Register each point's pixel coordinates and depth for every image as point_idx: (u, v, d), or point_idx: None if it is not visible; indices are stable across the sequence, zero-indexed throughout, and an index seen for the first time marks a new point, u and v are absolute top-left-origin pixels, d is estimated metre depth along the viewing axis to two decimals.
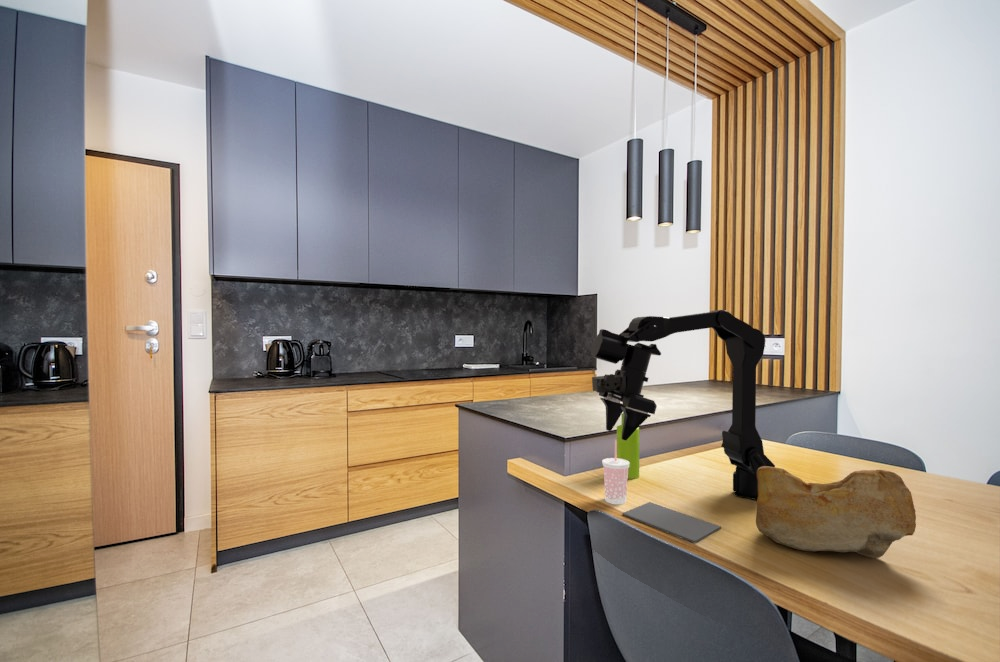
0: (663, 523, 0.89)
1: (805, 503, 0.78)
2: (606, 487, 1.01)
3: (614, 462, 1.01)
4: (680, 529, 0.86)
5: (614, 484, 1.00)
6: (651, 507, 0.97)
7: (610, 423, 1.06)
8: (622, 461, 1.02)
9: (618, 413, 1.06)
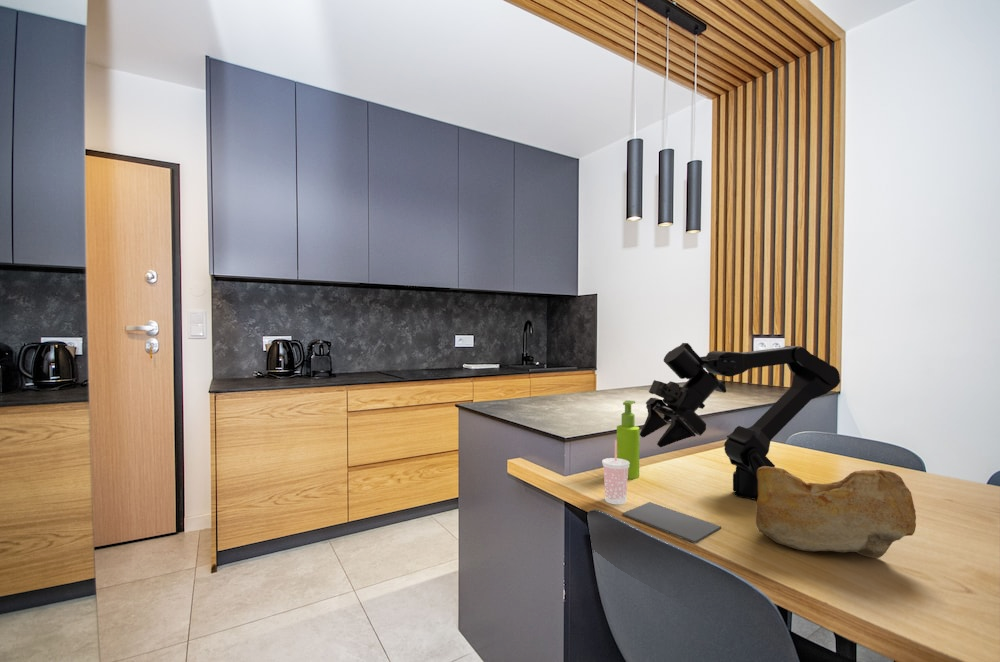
0: (663, 523, 0.89)
1: (805, 503, 0.78)
2: (606, 487, 1.01)
3: (614, 462, 1.01)
4: (680, 529, 0.86)
5: (614, 484, 1.00)
6: (651, 507, 0.97)
7: (646, 430, 1.07)
8: (622, 461, 1.02)
9: (657, 426, 1.08)
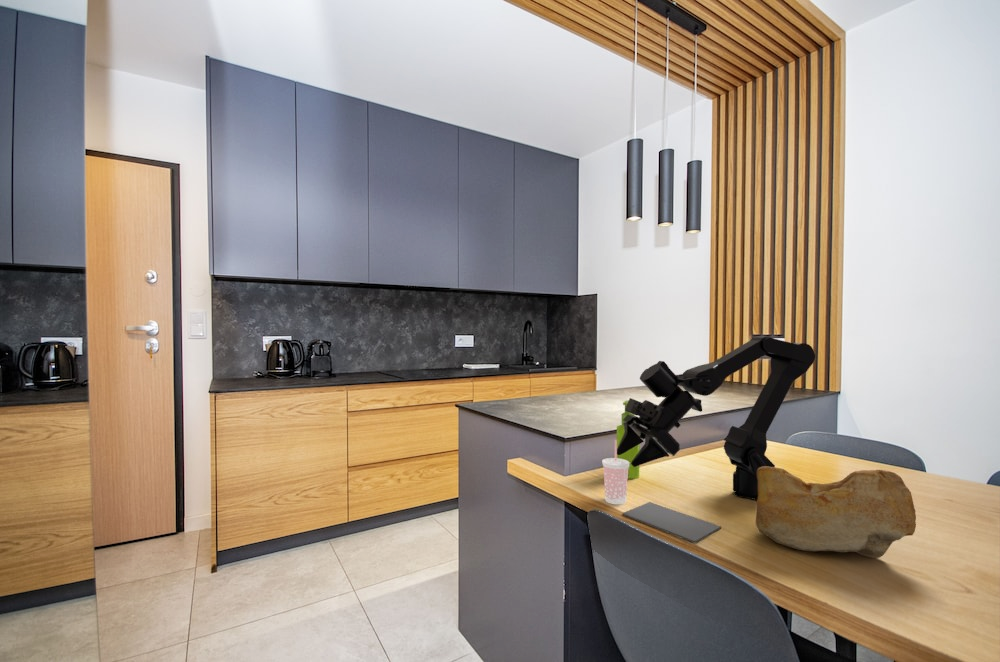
0: (663, 523, 0.89)
1: (805, 503, 0.78)
2: (606, 487, 1.01)
3: (614, 462, 1.01)
4: (680, 529, 0.86)
5: (614, 484, 1.00)
6: (651, 507, 0.97)
7: (622, 448, 1.07)
8: (622, 461, 1.02)
9: (633, 444, 1.07)
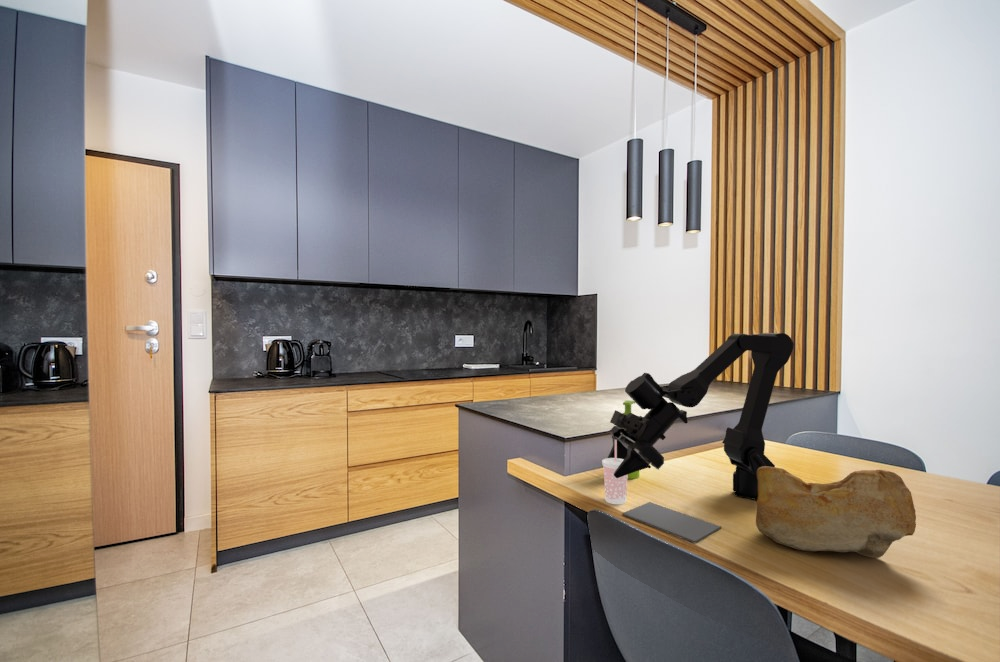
0: (663, 523, 0.89)
1: (805, 503, 0.78)
2: (606, 487, 1.01)
3: (614, 462, 1.01)
4: (680, 529, 0.86)
5: (614, 484, 1.00)
6: (651, 507, 0.97)
7: None
8: (622, 461, 1.02)
9: (621, 457, 1.06)
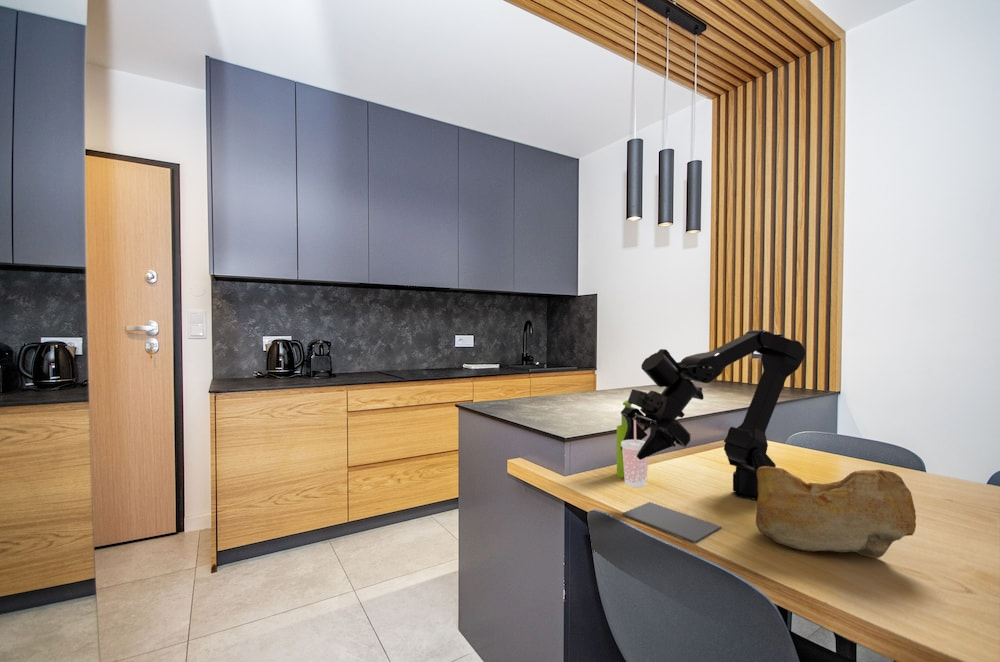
0: (663, 523, 0.89)
1: (805, 503, 0.78)
2: (627, 470, 0.96)
3: (634, 443, 0.96)
4: (680, 529, 0.86)
5: (636, 466, 0.95)
6: (651, 507, 0.97)
7: None
8: (641, 442, 0.98)
9: (637, 438, 1.01)
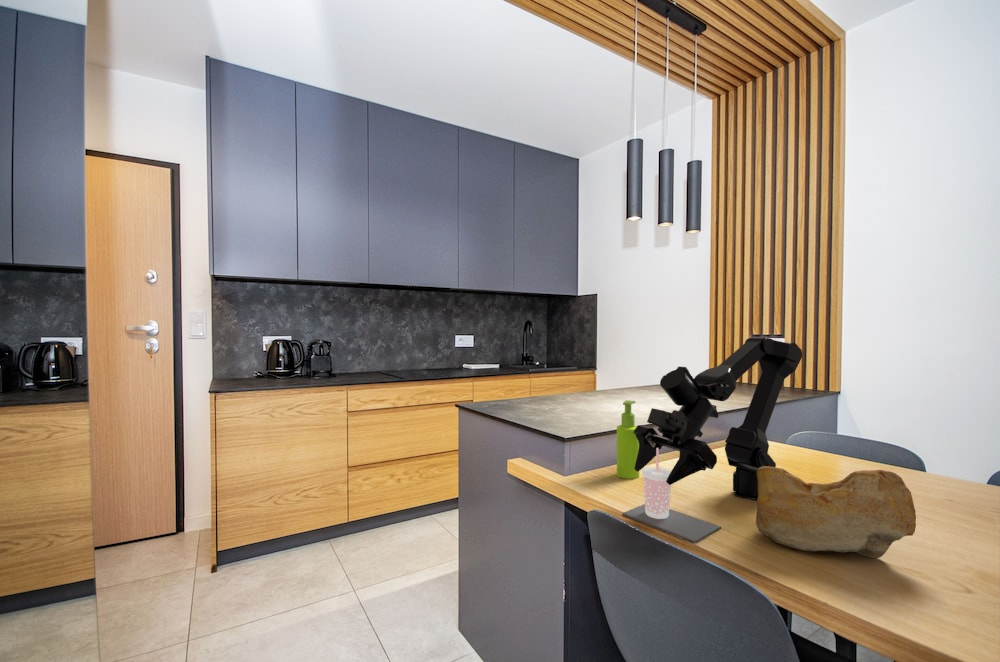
0: (663, 523, 0.89)
1: (805, 503, 0.78)
2: (650, 501, 0.92)
3: (658, 473, 0.92)
4: (680, 529, 0.86)
5: (660, 497, 0.90)
6: None
7: (641, 463, 0.97)
8: (662, 470, 0.94)
9: (649, 457, 0.99)
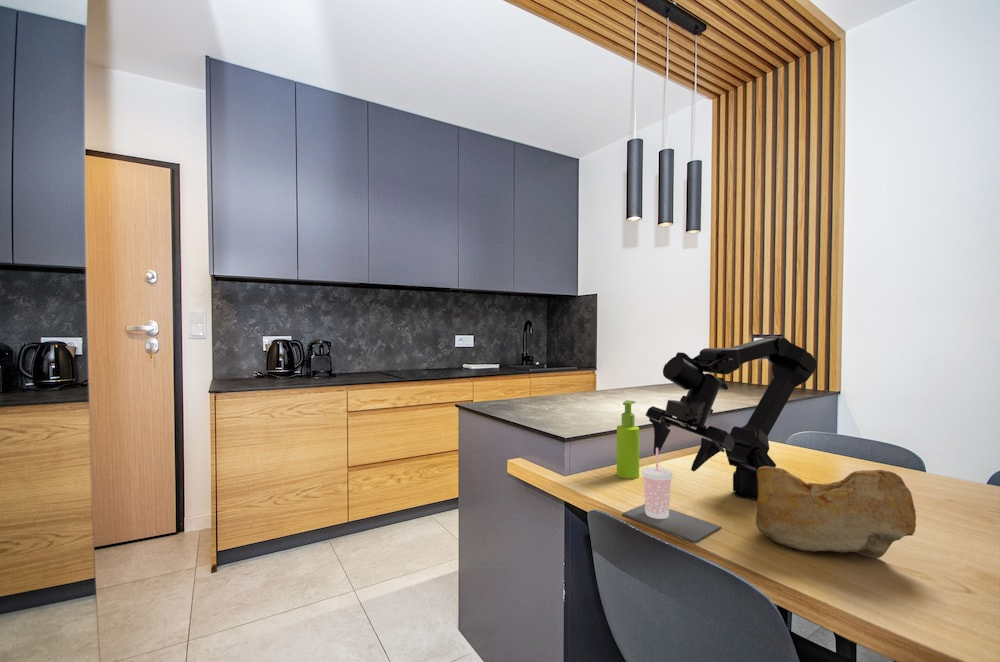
0: (663, 523, 0.89)
1: (805, 503, 0.78)
2: (650, 501, 0.92)
3: (657, 472, 0.92)
4: (680, 529, 0.86)
5: (660, 496, 0.91)
6: None
7: (659, 447, 1.02)
8: (662, 470, 0.94)
9: (664, 437, 1.03)
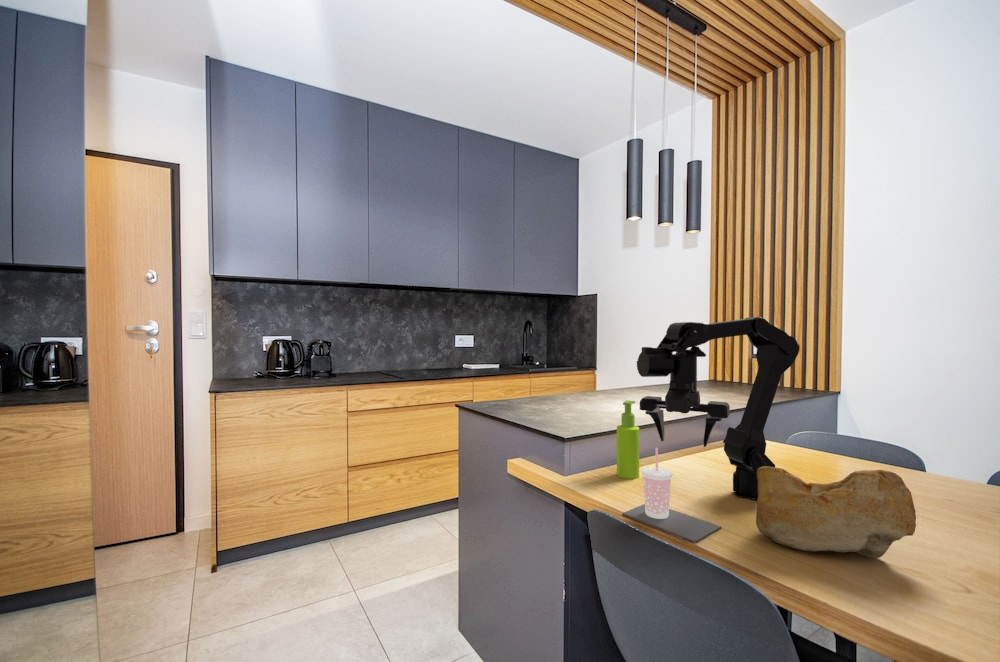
0: (663, 523, 0.89)
1: (805, 503, 0.78)
2: (649, 501, 0.92)
3: (657, 472, 0.92)
4: (680, 529, 0.86)
5: (660, 496, 0.91)
6: None
7: (663, 433, 1.05)
8: (661, 470, 0.94)
9: (663, 420, 1.06)
